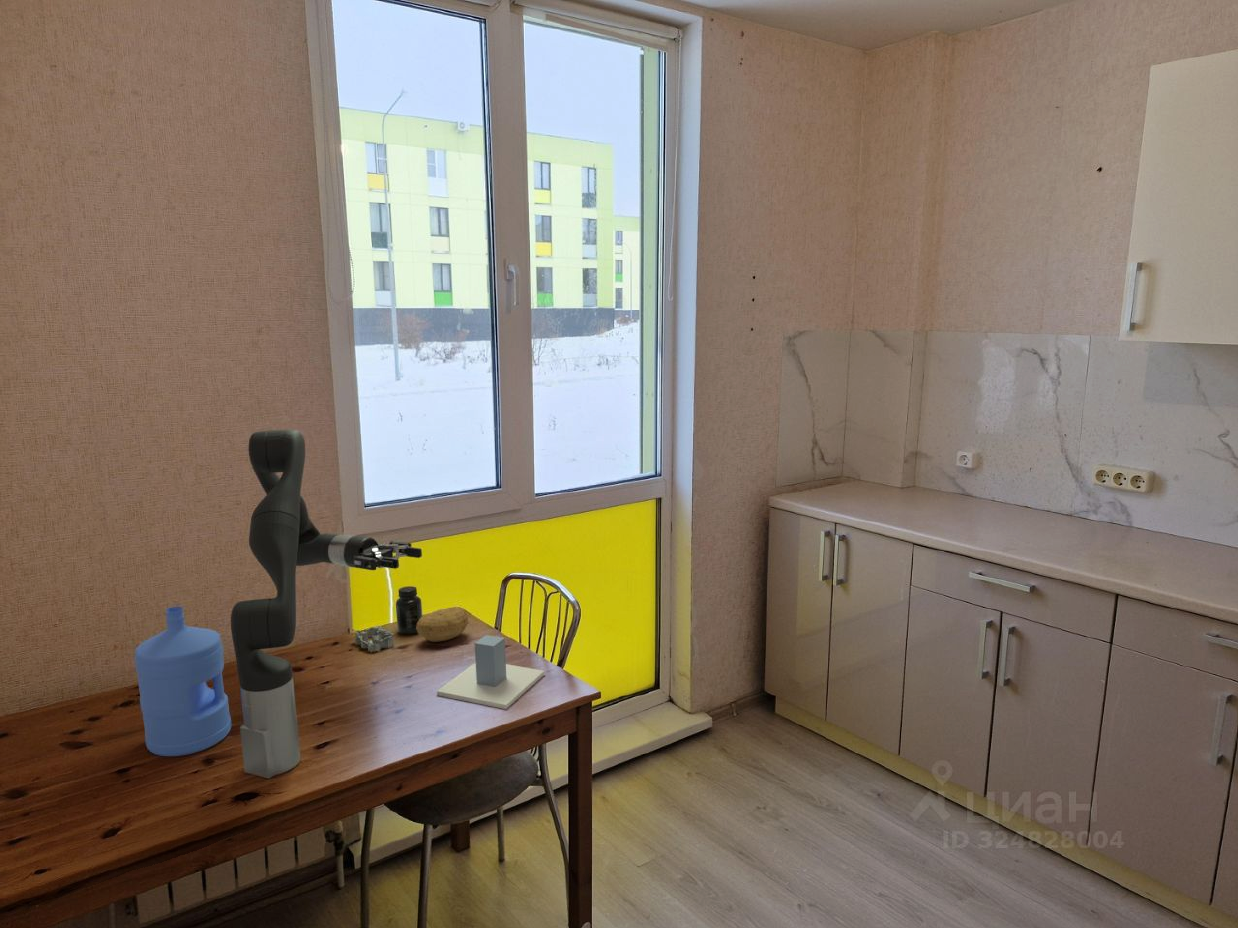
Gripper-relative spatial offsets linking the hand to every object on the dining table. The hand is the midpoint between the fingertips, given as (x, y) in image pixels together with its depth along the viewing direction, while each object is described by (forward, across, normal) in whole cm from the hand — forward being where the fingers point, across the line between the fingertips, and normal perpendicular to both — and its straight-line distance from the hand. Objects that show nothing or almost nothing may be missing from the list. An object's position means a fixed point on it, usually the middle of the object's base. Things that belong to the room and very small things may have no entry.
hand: (409, 558), depth 185 cm
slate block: (+18, +4, +29) cm, 34 cm away
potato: (-8, +22, +30) cm, 38 cm away
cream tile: (+18, +4, +30) cm, 35 cm away
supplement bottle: (-20, +24, +30) cm, 43 cm away
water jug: (-28, -39, +30) cm, 57 cm away
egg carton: (-24, +13, +30) cm, 41 cm away
